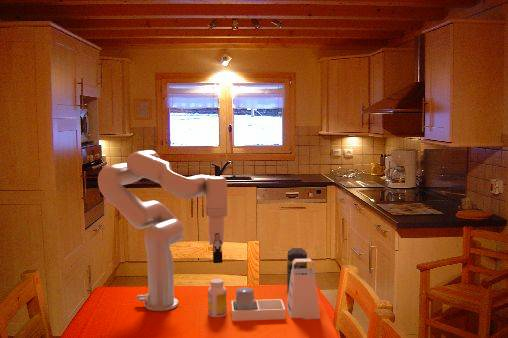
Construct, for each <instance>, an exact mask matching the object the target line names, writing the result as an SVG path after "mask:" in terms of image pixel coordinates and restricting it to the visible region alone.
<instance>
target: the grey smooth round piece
mask: <svg viewBox="0 0 508 338" xmlns="http://www.w3.org/2000/svg"><path fill="white" fill-rule="evenodd" d="M254 295H255V291H254V289H253V288H251V287H245V286H244V287H240V288H239V287H238V288H237V289H236V290H235V301H236V310H254V300H255V299H254V298H255V296H254Z"/></svg>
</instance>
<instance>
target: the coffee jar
mask: <svg viewBox="0 0 508 338" xmlns="http://www.w3.org/2000/svg"><path fill="white" fill-rule="evenodd" d="M307 253H308V252H307V251H306V250H305V249H304V248H302V247H292V248H291V249H289V250H288V251H287V257H286V258H287V259H286V261H287V262H286V268H287V269H286V278H287V279H286V286H287V287H286V289H287V290H286V291H287V292H286V293H287V294H288V291H289V284H290V276H291V269H292V261H293V260H294V259H308V254H307ZM307 264H308V262H296V263H295V264H294V269H302V268H308V265H307ZM295 275H297V273H296V274H295ZM298 275H300V273H299V274H298ZM301 275H304V273H302V274H301ZM305 275H307V273H305Z"/></svg>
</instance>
